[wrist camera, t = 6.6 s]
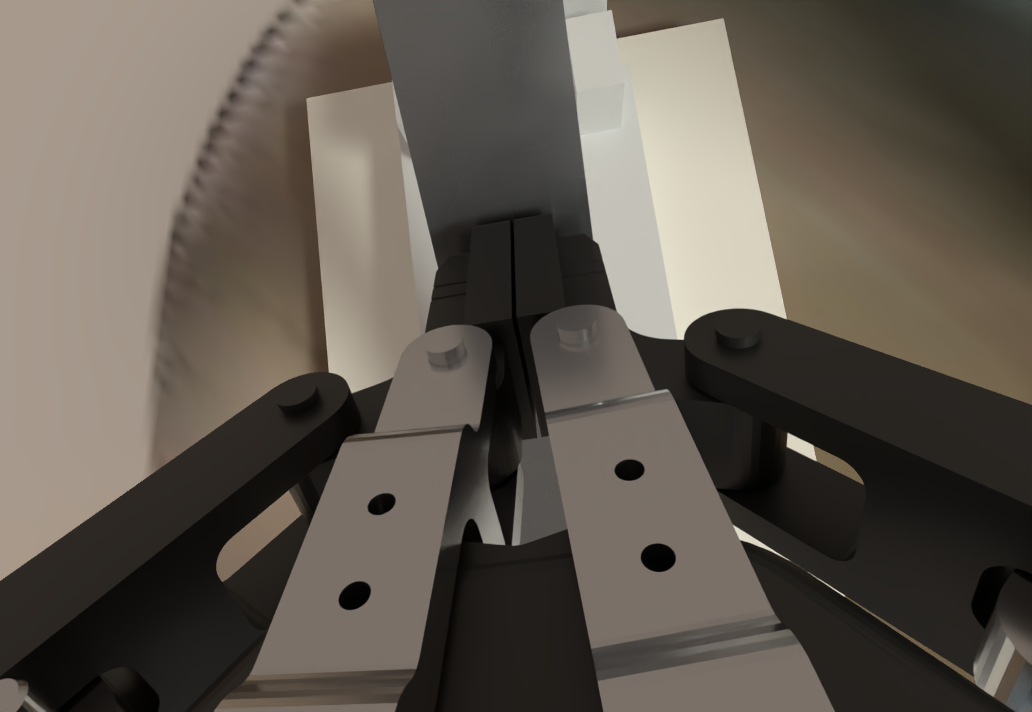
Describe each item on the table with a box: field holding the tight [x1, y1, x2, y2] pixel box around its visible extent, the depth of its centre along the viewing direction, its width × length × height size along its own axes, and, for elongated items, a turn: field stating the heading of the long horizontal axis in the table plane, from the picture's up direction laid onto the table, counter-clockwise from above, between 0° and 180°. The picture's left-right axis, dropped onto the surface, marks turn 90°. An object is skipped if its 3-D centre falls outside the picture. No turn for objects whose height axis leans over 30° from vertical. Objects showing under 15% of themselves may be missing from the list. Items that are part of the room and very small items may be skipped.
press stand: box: [306, 0, 845, 597], centre depth 21 cm, size 16×25×7 cm, turn 8°
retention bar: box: [373, 0, 593, 545], centre depth 14 cm, size 3×19×1 cm
